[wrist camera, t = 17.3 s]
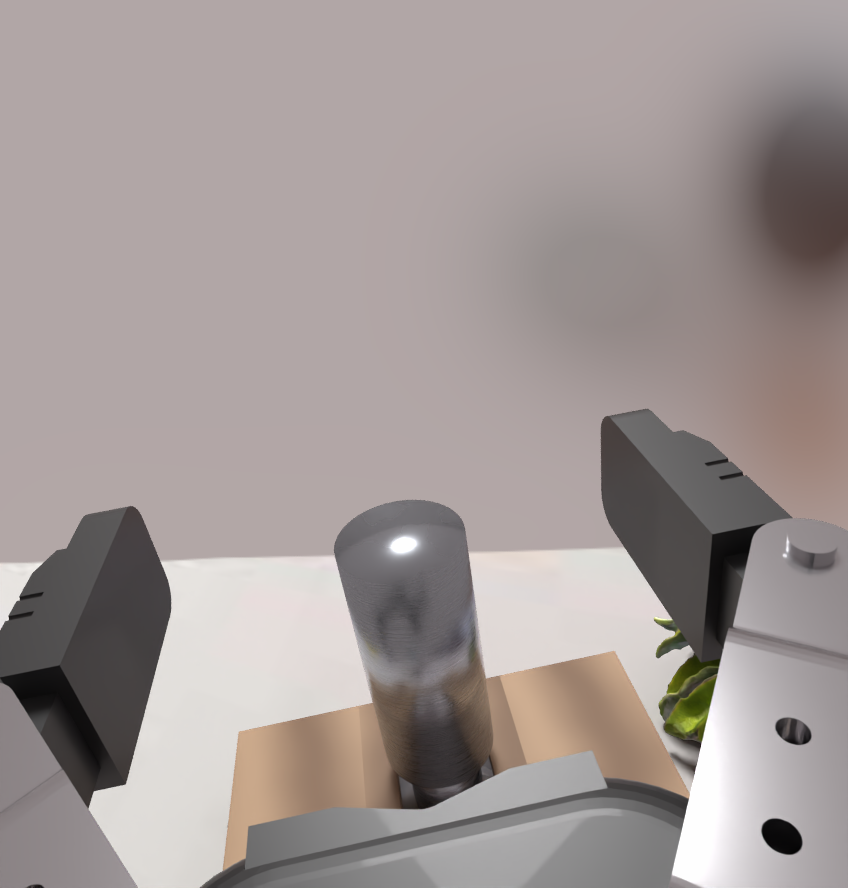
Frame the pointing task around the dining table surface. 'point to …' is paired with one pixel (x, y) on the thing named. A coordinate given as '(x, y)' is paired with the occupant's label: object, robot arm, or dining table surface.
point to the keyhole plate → (514, 744)
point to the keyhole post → (419, 645)
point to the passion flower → (686, 690)
